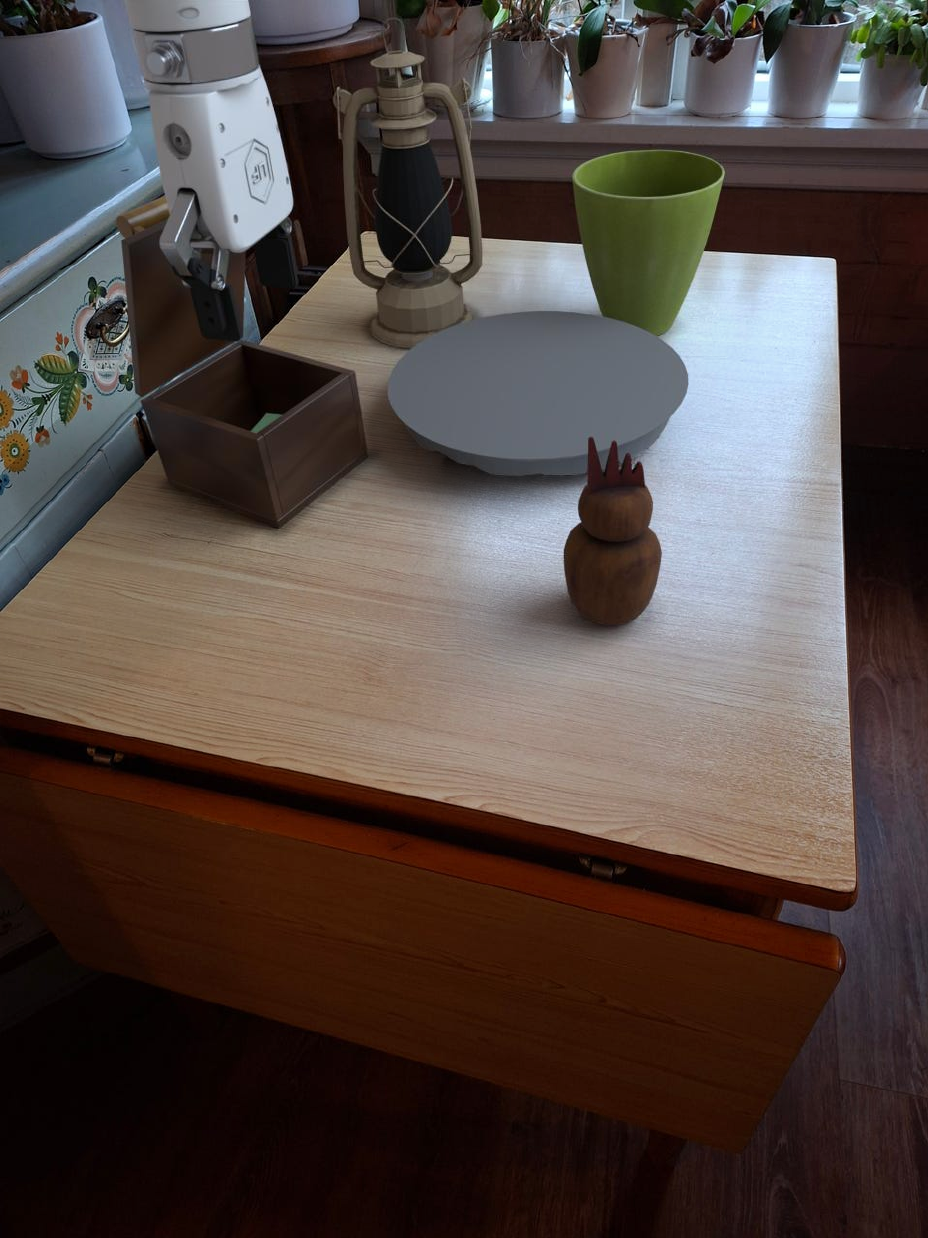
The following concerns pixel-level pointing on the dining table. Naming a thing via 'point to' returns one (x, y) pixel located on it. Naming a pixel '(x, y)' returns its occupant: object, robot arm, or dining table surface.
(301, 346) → the dining table surface
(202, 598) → the dining table surface
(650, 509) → the wooden figurine
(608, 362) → the flat disc
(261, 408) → the chest
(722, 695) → the dining table surface
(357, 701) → the dining table surface
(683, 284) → the flower pot
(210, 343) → the lid
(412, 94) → the lantern
